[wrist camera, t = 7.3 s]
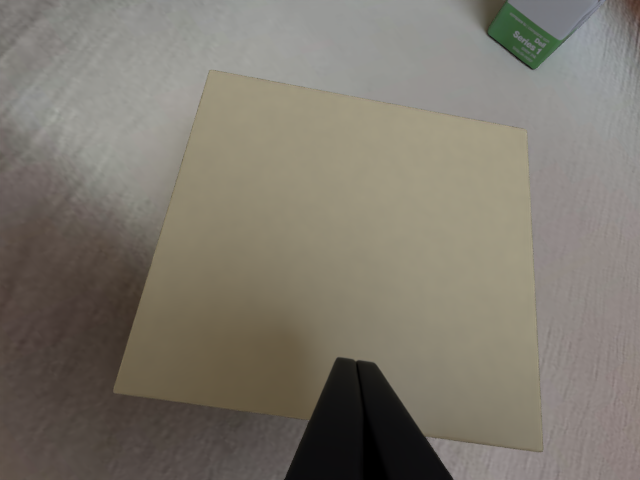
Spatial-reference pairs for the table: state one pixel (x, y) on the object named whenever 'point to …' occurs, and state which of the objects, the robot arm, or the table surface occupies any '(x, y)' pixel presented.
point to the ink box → (539, 26)
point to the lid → (344, 263)
